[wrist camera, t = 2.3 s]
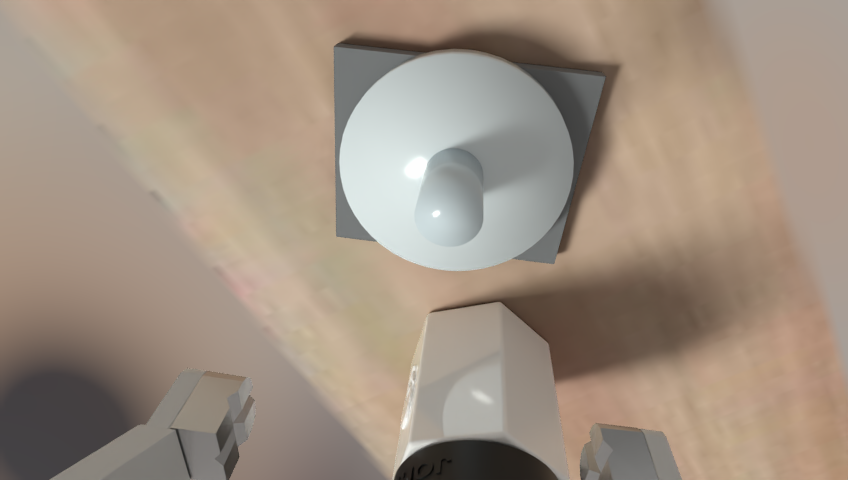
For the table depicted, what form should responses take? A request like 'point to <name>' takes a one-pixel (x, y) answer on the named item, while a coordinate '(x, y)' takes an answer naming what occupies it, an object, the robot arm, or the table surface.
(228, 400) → the robot arm
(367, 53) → the mat
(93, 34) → the table surface
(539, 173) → the lid
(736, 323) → the table surface
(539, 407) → the jar
